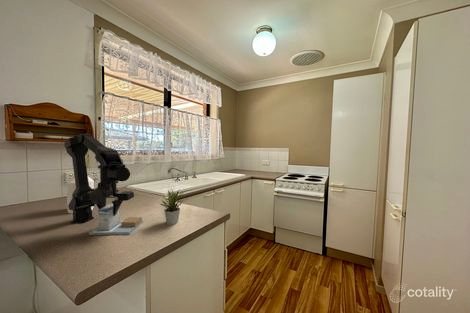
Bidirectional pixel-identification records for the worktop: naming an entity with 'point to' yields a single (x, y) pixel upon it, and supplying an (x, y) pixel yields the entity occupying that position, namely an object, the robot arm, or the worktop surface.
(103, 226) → the medicine box
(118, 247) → the worktop surface
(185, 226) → the worktop surface
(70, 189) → the bottle
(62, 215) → the worktop surface
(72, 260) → the worktop surface
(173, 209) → the house plant
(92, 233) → the board
